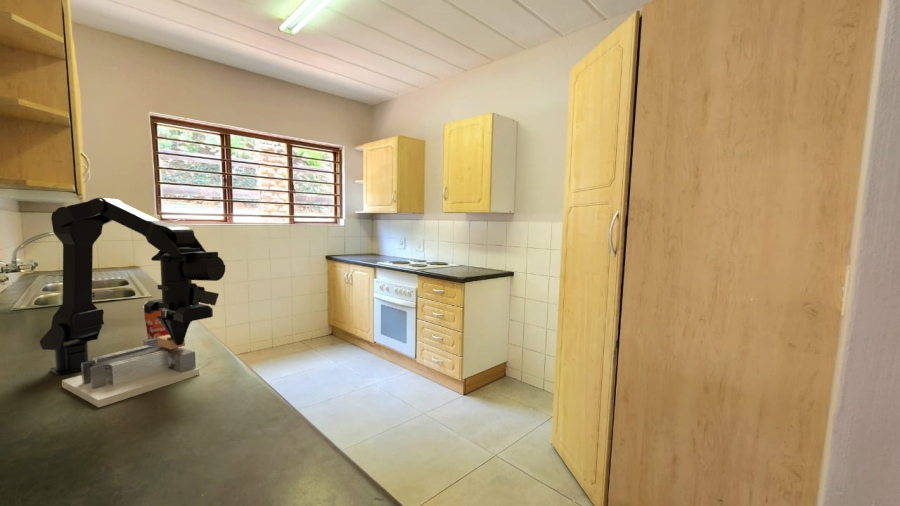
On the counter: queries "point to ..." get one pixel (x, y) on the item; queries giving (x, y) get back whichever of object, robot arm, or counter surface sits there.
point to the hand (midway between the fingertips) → (179, 344)
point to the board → (124, 387)
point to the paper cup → (154, 325)
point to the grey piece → (136, 365)
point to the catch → (168, 342)
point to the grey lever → (132, 356)
